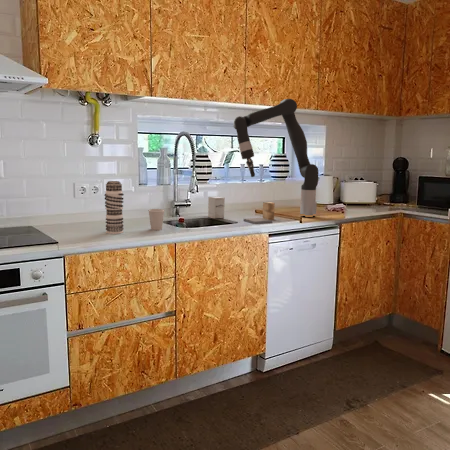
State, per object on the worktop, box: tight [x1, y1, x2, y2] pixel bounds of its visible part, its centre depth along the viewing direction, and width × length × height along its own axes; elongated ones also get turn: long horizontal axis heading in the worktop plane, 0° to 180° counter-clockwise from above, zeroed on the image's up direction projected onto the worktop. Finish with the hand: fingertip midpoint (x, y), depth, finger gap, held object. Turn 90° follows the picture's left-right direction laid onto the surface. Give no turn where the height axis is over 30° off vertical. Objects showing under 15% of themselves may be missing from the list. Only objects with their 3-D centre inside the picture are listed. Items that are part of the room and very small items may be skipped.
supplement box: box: [207, 196, 225, 220], centre depth 284 cm, size 7×7×13 cm
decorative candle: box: [104, 180, 125, 235], centre depth 227 cm, size 9×9×25 cm
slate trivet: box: [243, 217, 273, 225], centre depth 272 cm, size 12×12×1 cm
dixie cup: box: [148, 208, 166, 231], centre depth 240 cm, size 8×8×10 cm
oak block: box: [262, 201, 276, 221], centre depth 283 cm, size 5×5×10 cm
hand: (253, 176), depth 279 cm, fingers open, 8 cm apart
